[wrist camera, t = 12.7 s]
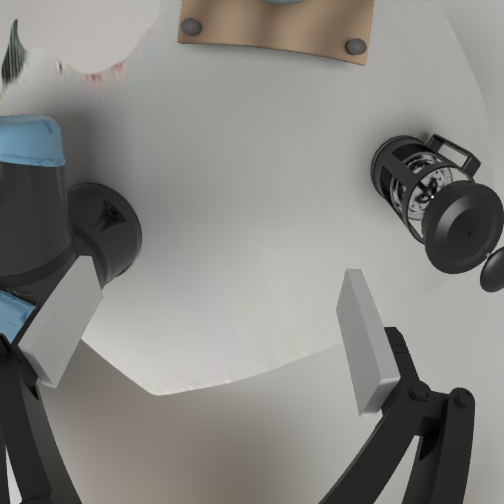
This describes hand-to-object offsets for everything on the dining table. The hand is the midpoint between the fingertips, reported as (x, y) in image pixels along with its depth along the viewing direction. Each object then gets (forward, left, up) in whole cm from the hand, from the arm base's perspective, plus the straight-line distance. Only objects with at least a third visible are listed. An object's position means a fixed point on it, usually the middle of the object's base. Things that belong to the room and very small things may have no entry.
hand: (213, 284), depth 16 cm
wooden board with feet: (+1, +22, -26) cm, 34 cm away
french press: (+20, +2, -26) cm, 33 cm away
